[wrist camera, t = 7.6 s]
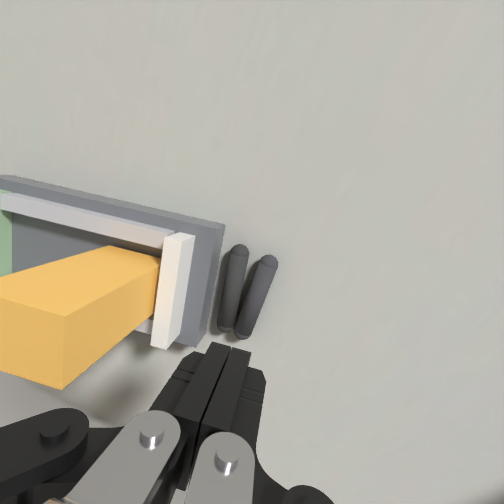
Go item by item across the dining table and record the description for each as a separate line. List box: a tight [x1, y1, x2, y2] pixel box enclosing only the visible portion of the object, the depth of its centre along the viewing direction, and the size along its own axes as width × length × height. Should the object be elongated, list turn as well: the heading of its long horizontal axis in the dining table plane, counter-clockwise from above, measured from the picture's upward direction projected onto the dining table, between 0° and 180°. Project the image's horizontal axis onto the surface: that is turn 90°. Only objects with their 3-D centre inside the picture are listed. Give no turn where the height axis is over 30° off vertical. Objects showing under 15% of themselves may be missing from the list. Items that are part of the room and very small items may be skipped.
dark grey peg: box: [217, 244, 249, 332], centre depth 19 cm, size 6×1×1 cm, turn 168°
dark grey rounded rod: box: [234, 255, 278, 340], centre depth 19 cm, size 6×1×1 cm, turn 159°
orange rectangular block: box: [0, 245, 162, 390], centre depth 14 cm, size 4×3×8 cm
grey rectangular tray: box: [0, 175, 225, 350], centre depth 19 cm, size 16×8×4 cm, turn 77°
